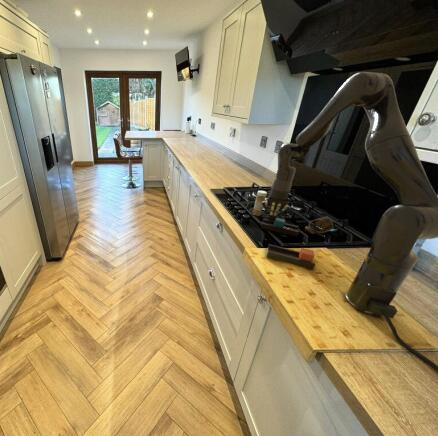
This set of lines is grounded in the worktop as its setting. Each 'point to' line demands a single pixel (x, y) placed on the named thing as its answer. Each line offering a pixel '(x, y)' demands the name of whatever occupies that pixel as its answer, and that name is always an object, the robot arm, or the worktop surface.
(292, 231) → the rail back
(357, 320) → the worktop surface
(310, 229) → the brown lumpy chunk
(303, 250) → the red cube
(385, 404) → the worktop surface
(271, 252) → the rail front
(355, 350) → the worktop surface
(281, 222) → the teal cube
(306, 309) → the worktop surface
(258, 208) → the sprinkles bottle
